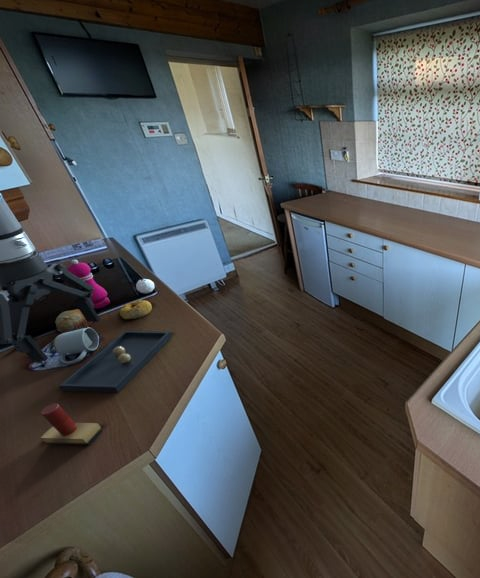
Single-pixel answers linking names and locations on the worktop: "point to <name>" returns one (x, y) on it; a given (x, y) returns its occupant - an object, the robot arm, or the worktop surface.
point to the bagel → (135, 309)
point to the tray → (116, 363)
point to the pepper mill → (84, 274)
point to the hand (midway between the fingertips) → (69, 338)
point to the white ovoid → (145, 285)
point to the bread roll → (71, 321)
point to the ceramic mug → (76, 343)
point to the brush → (67, 428)
